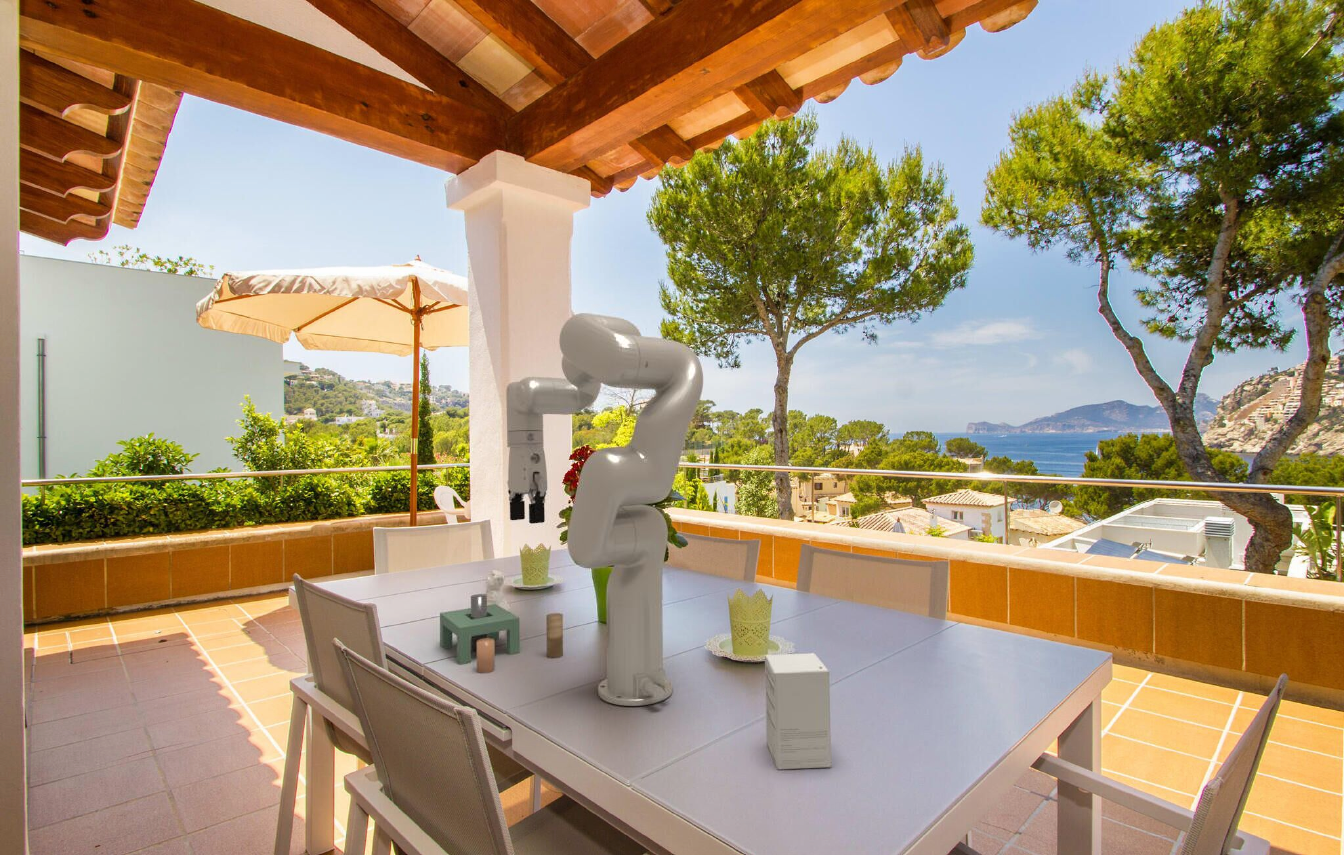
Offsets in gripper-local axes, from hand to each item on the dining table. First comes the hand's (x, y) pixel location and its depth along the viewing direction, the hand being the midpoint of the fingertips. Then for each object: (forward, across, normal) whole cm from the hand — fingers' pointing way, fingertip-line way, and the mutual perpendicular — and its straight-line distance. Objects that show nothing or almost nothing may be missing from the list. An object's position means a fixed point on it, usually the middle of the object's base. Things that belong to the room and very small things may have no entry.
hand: (526, 521), depth 138 cm
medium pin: (+26, -9, -1) cm, 28 cm away
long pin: (+26, +4, +9) cm, 28 cm away
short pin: (+26, -8, +13) cm, 30 cm away
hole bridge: (+26, +4, +9) cm, 28 cm away
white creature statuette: (+26, +25, -2) cm, 36 cm away
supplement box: (+28, -67, -8) cm, 73 cm away
